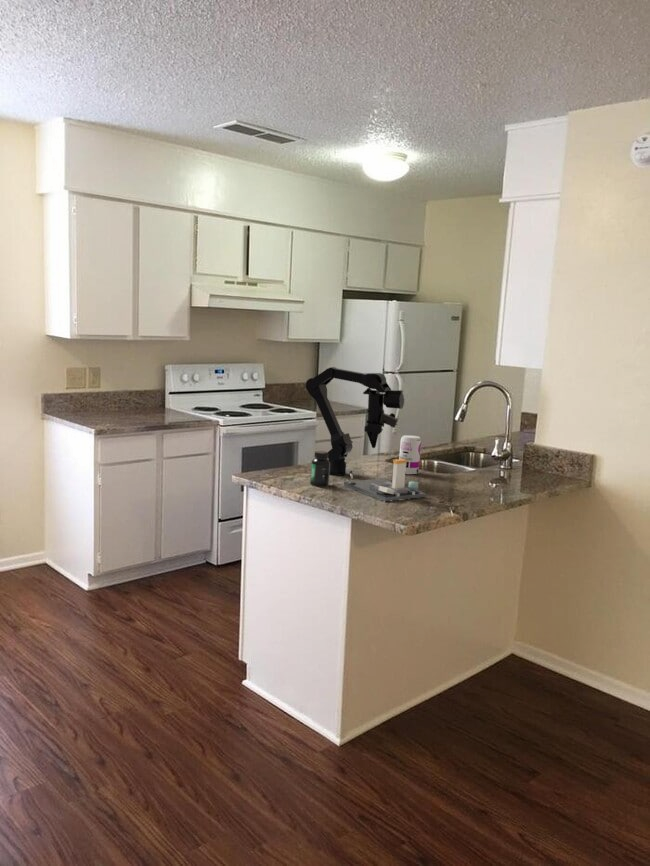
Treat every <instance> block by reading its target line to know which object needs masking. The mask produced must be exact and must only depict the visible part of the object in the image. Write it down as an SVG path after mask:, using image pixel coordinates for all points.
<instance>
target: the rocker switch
mask: <svg viewBox="0 0 650 866" xmlns="http://www.w3.org/2000/svg"><path fill="white" fill-rule="evenodd" d="M378 490H380V491H383V492H386V493H390V494H394V490H392V489H390V488H387V487H383V486H379V489H378Z"/></svg>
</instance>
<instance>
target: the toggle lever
mask: <svg viewBox="0 0 650 866" xmlns="http://www.w3.org/2000/svg"><path fill="white" fill-rule="evenodd" d="M348 473H349V476H350V481H354V476H353V470H351V469H350V470H349V472H348Z"/></svg>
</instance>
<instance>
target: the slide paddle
mask: <svg viewBox="0 0 650 866" xmlns="http://www.w3.org/2000/svg"><path fill="white" fill-rule="evenodd" d="M392 463H393V469H392V480H391V481H392V486H389V487H388V488H390V489H392V490H394V491H395V492H397V493H400V494H401V493H408V489H407V488H404V486H405V480H406V475H405V471H406V463H407V460H405V459H399V458H398V459H396V458H395V459H393V460H392Z"/></svg>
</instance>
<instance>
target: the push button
mask: <svg viewBox="0 0 650 866" xmlns="http://www.w3.org/2000/svg"><path fill="white" fill-rule="evenodd" d="M407 487H408V489H411V490H419V482H418V481H411V480H410V481H408V486H407Z"/></svg>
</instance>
